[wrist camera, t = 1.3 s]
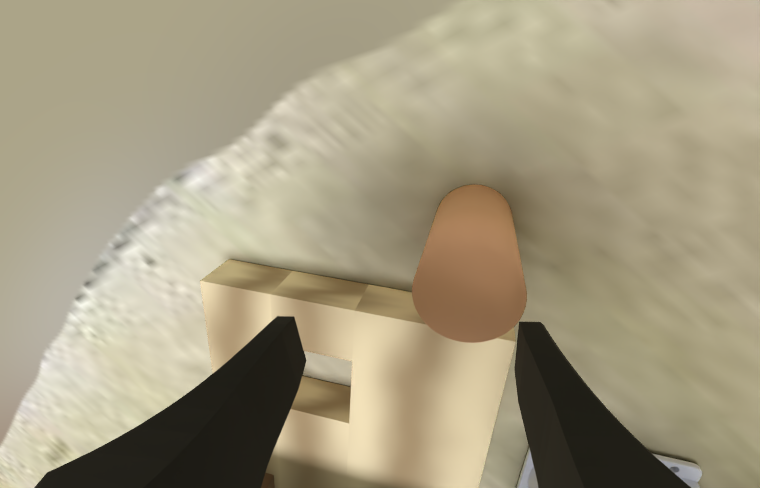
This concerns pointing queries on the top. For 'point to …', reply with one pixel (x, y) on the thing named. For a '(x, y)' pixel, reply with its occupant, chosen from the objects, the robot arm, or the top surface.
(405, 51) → the top surface
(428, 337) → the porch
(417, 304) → the peg
